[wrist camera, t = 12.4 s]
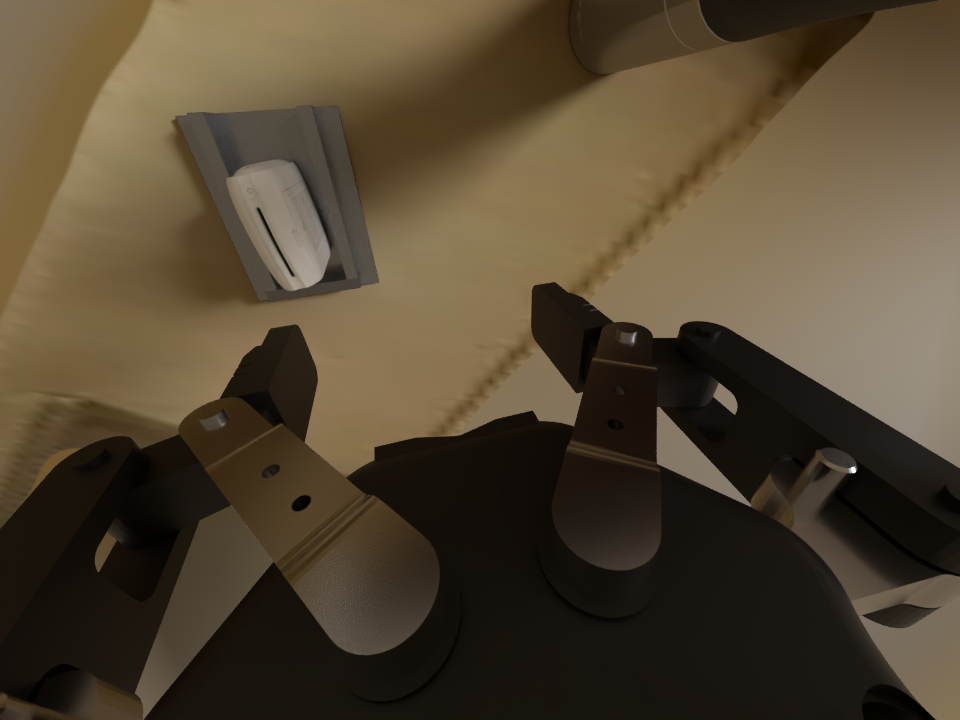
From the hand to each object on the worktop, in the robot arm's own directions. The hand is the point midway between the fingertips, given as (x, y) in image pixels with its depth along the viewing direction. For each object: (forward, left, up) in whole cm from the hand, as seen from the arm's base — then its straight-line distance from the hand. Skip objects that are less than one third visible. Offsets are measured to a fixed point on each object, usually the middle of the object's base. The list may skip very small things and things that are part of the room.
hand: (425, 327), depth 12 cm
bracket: (+10, +1, -34) cm, 35 cm away
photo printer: (+10, +1, -33) cm, 34 cm away
